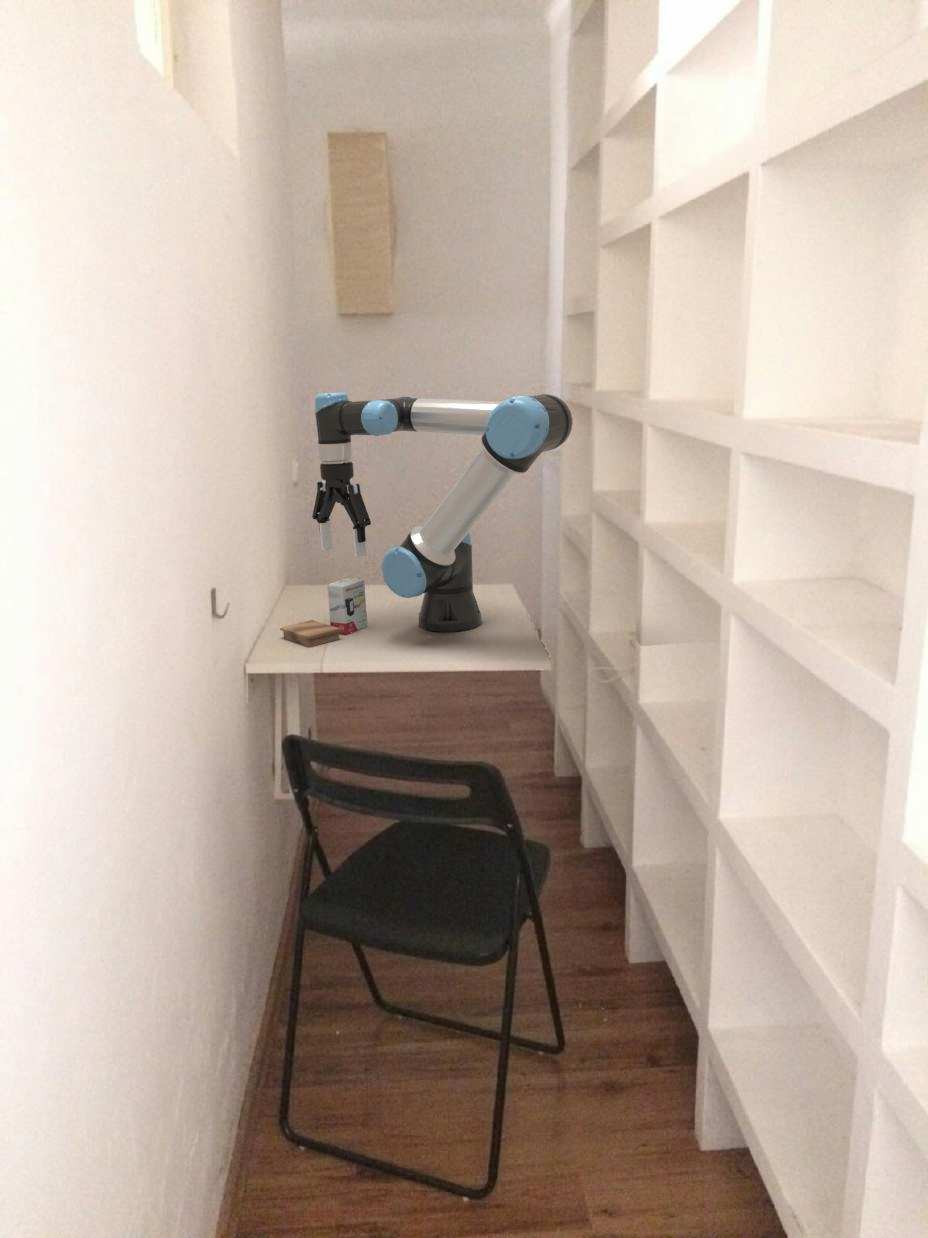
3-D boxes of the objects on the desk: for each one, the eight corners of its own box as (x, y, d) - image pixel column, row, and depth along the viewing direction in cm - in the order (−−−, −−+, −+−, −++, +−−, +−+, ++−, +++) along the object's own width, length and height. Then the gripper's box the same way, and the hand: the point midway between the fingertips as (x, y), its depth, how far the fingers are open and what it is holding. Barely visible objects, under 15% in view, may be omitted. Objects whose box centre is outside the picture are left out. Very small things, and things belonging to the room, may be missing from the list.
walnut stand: (342, 639, 224) (341, 628, 223) (309, 647, 218) (308, 637, 218) (313, 630, 233) (312, 620, 232) (280, 638, 227) (279, 627, 226)
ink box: (346, 635, 227) (342, 586, 224) (329, 633, 230) (326, 584, 227) (368, 626, 234) (365, 578, 231) (352, 624, 237) (349, 577, 234)
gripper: (382, 462, 215) (388, 556, 221) (319, 457, 234) (326, 544, 239) (354, 465, 211) (361, 561, 216) (293, 461, 229) (301, 549, 234)
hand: (343, 552), depth 227 cm, fingers open, 13 cm apart
